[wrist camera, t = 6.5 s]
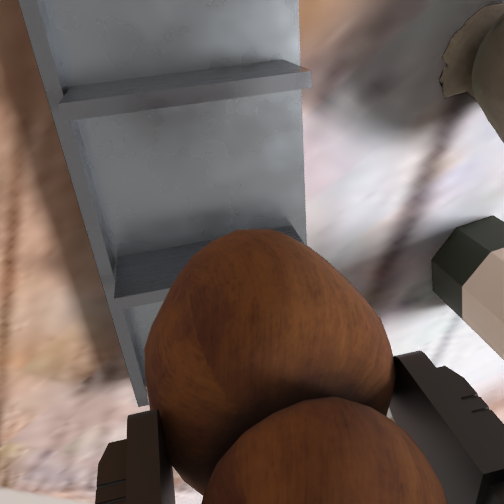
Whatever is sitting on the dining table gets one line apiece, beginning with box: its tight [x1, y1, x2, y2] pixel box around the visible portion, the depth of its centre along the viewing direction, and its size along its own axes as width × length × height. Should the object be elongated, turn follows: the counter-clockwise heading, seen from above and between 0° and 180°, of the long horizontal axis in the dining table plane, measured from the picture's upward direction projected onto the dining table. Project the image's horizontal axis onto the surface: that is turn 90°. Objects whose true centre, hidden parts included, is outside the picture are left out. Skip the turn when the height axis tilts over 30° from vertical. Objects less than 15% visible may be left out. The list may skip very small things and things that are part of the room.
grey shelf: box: [18, 0, 312, 407], centre depth 27 cm, size 14×33×6 cm, turn 5°
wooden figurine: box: [144, 229, 447, 504], centre depth 11 cm, size 7×6×15 cm
